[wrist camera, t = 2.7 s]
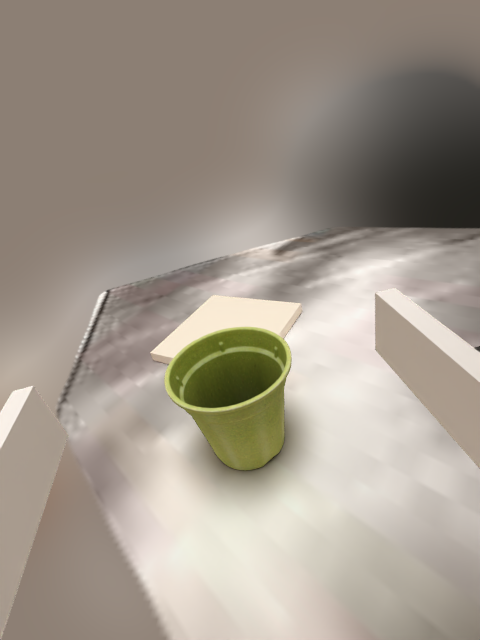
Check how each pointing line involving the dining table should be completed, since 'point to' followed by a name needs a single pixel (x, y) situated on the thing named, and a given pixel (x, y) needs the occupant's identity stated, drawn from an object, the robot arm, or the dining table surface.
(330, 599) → the dining table surface
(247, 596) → the dining table surface
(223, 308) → the tile
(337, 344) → the dining table surface
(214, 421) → the plant pot
